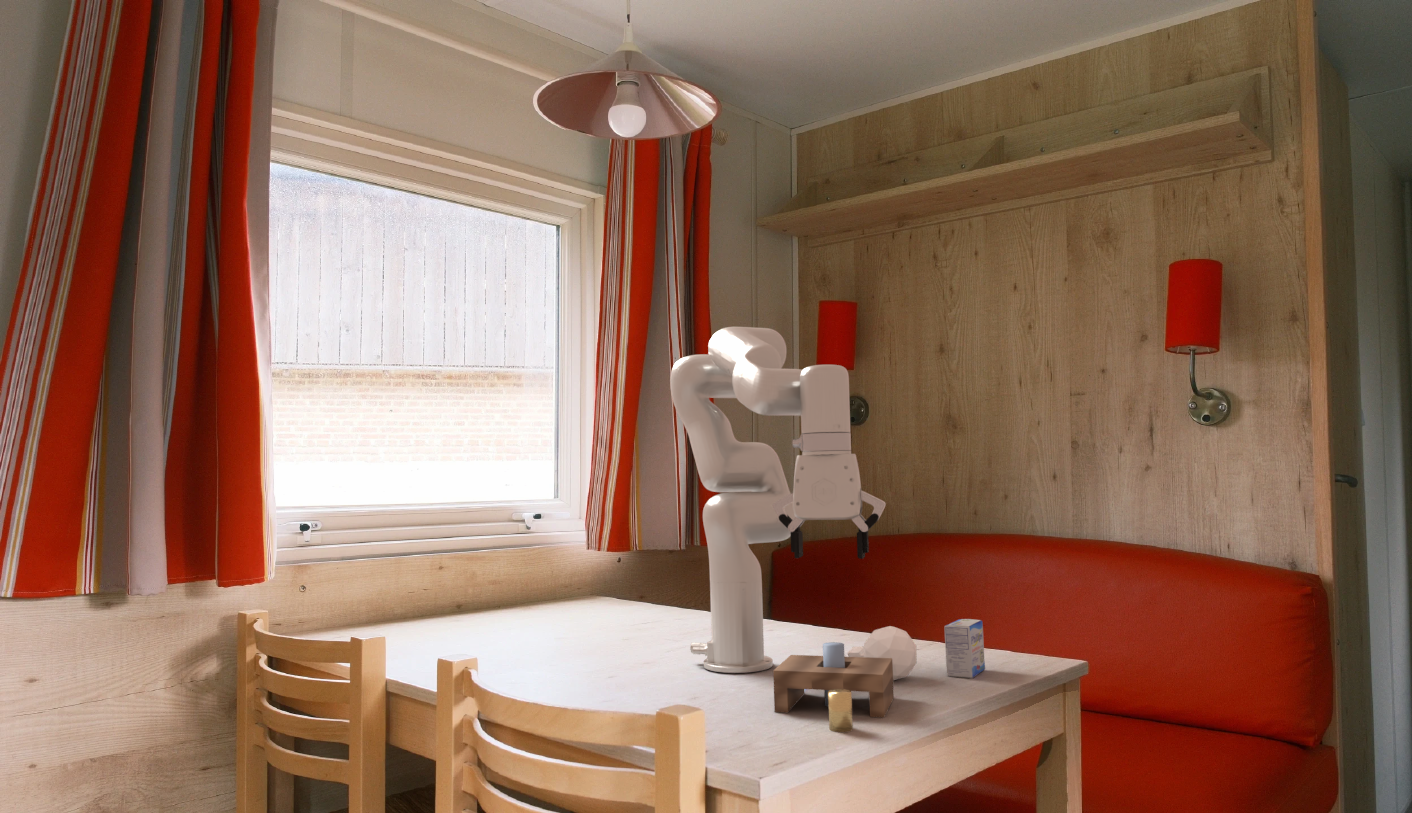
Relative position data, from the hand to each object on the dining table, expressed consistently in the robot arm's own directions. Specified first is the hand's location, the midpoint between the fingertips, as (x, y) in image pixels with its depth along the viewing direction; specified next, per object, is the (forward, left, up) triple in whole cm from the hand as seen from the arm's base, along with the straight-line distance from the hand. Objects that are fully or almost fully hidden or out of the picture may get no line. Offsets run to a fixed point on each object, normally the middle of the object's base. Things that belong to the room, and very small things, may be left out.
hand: (829, 557), depth 143 cm
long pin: (0, 0, -22) cm, 22 cm away
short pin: (+3, -13, -22) cm, 26 cm away
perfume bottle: (+5, +20, -22) cm, 30 cm away
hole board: (0, 0, -22) cm, 22 cm away
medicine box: (+18, +26, -22) cm, 39 cm away
